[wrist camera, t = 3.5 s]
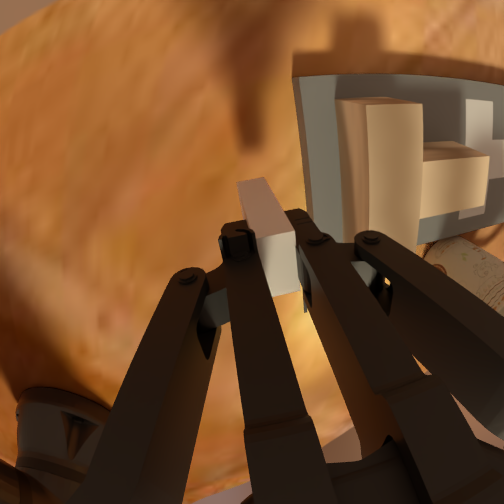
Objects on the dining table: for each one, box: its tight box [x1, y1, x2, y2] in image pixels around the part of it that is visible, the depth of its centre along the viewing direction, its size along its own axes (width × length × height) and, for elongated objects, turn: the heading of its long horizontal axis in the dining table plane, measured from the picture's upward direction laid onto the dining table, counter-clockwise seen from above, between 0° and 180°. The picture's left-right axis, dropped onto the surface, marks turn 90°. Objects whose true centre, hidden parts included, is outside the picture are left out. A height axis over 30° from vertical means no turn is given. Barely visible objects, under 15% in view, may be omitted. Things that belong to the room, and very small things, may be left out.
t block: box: [334, 97, 490, 254], centre depth 18 cm, size 10×10×4 cm
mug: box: [424, 235, 504, 317], centre depth 22 cm, size 8×12×10 cm, turn 92°
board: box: [292, 74, 504, 245], centre depth 20 cm, size 25×13×2 cm, turn 99°
